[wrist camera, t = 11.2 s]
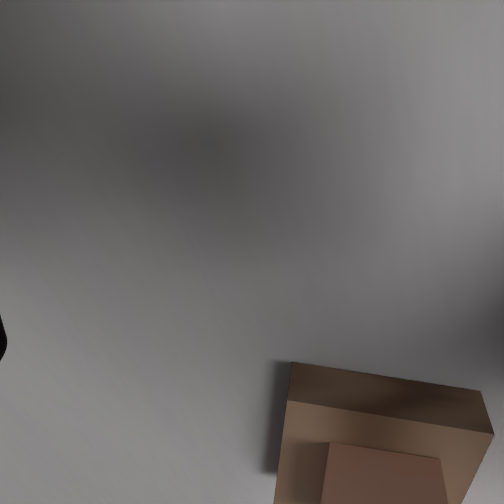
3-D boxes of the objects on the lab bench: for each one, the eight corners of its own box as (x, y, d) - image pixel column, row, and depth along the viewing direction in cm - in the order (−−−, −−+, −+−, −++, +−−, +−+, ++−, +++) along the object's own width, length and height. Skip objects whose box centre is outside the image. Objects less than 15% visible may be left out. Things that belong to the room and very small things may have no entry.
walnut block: (477, 383, 23) (494, 434, 20) (431, 493, 28) (440, 546, 25) (293, 354, 24) (287, 400, 22) (278, 465, 29) (272, 513, 26)
